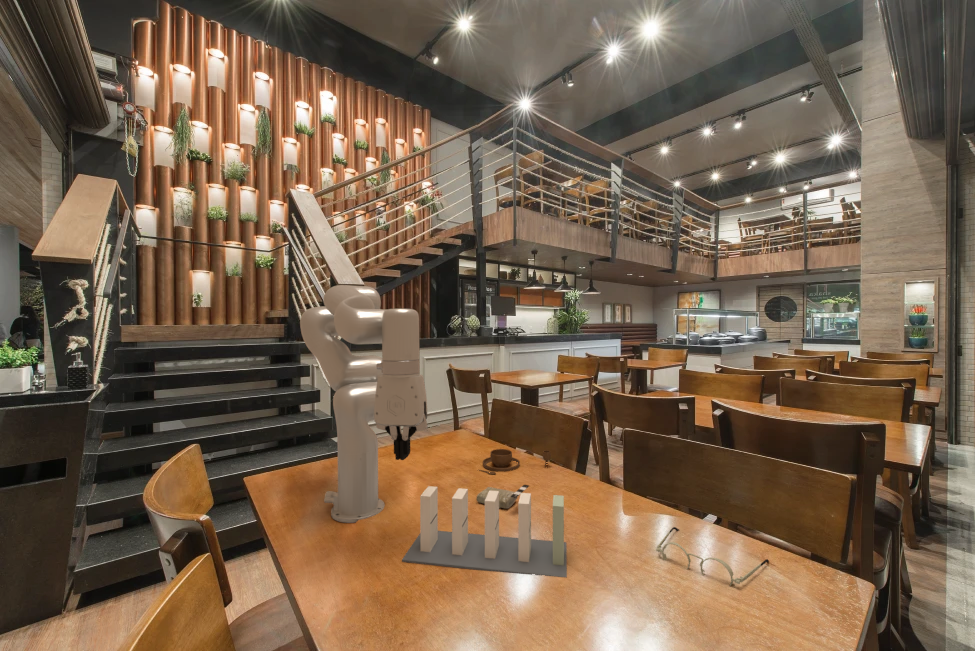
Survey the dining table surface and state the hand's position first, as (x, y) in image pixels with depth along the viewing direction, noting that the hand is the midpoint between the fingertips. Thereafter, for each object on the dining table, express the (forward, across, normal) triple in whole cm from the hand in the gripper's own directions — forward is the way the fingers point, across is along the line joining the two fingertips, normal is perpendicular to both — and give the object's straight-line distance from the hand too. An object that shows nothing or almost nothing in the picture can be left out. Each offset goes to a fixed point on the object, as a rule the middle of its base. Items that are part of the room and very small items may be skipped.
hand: (402, 457), depth 86 cm
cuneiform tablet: (+16, +23, +21) cm, 35 cm away
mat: (+18, +18, 0) cm, 25 cm away
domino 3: (+18, +18, 0) cm, 26 cm away
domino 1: (+18, +6, 0) cm, 18 cm away
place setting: (+18, +16, +50) cm, 55 cm away
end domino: (+18, +31, 0) cm, 36 cm away
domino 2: (+18, +12, 0) cm, 21 cm away
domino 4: (+18, +25, 0) cm, 31 cm away
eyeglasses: (+19, +60, +5) cm, 63 cm away
